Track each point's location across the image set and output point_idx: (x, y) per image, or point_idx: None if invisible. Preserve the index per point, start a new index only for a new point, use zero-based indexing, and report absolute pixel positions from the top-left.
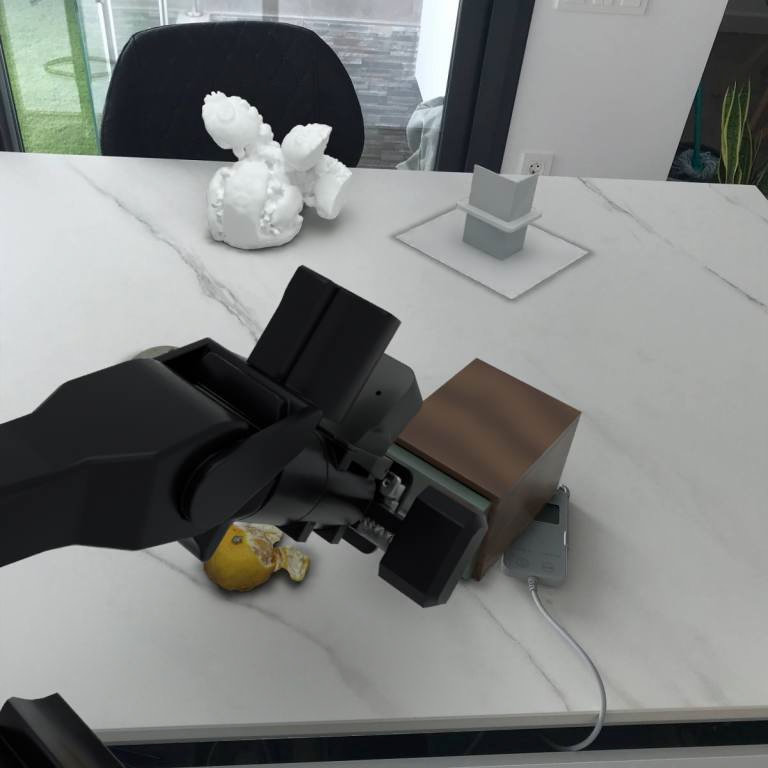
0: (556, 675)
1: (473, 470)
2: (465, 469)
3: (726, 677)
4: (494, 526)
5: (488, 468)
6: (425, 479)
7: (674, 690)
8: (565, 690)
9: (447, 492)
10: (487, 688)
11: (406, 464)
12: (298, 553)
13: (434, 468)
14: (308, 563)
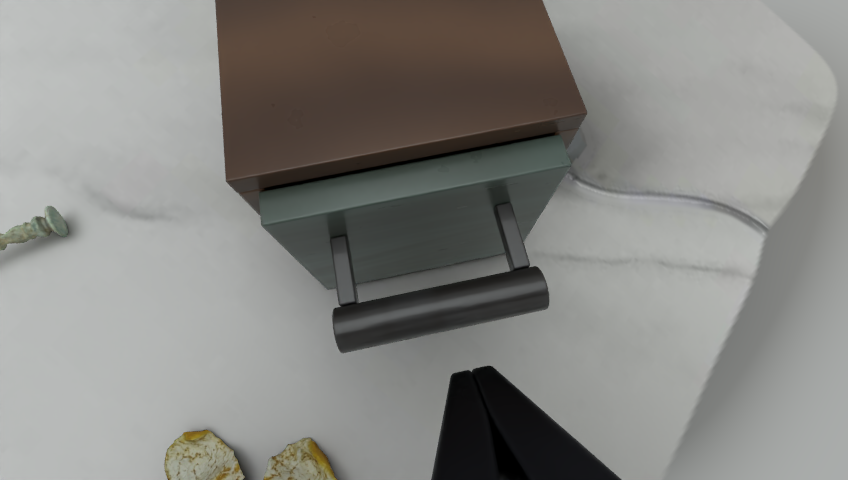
0: (705, 254)
1: (479, 103)
2: (465, 116)
3: (805, 86)
4: None
5: (495, 73)
6: (404, 204)
7: (793, 148)
8: (731, 262)
9: (470, 190)
10: (676, 353)
11: (341, 211)
12: (289, 452)
13: (398, 167)
14: (322, 456)
